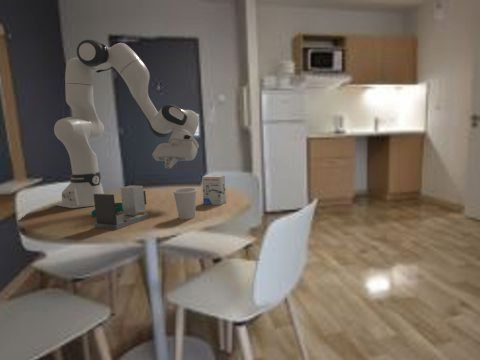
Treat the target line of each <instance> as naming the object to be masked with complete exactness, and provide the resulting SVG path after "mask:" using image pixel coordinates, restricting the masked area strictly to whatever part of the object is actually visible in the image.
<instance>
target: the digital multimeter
mask: <svg viewBox="0 0 480 360" xmlns="http://www.w3.org/2000/svg"><path fill="white" fill-rule="evenodd" d="M115 210H116V214H118V213H120V212H123V206H122V202H115ZM91 217H94V218H96V212H95V209H94V210H92V211H91Z"/></svg>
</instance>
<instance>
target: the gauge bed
mask: <svg viewBox="0 0 480 360" xmlns="http://www.w3.org/2000/svg"><path fill="white" fill-rule="evenodd" d="M93 195H94V203H95V205H94V210H95V212H96V217H95V218H96V222H94V228H96V229H98V228H99V229H104V230H105V229H106V230H114V231H115V230H116V231H117V230H120V229H122V228H125V227H128V226H130V225H133V224H136V223H138V222H142V221H144V220H146V219H149V218H150V213H147V214H140V215H137V216H132V215H123V213H121V214H118V215H117V213H116V210H115V203H116V202H115V195H114V193H113V194H111V193H104V194H93Z"/></svg>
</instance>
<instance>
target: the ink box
mask: <svg viewBox="0 0 480 360" xmlns="http://www.w3.org/2000/svg"><path fill="white" fill-rule="evenodd" d="M201 179H202V180H201V181H202V198H203V200H202V201H203V205H211V204H213V205H216V206H222V205H223V204H226V203H227V195H226V194H227V193H226V176H225V175H224V174H207V175H204V176H202V178H201ZM213 205H212V206H213Z"/></svg>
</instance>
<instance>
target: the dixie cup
mask: <svg viewBox="0 0 480 360" xmlns="http://www.w3.org/2000/svg"><path fill="white" fill-rule="evenodd" d="M197 190H198V189H197V188H195V187H186V188H185V187H184V188H183V187H182V188H177V189H174V190H172V193H173V195H174V200H175V205H176V210H177V215H178V218H179V220H183V219H186V220H191V219H192V220H193V219H194V217H195V218H196V205H197V204H196V203H197V202H196V201H197Z"/></svg>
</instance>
